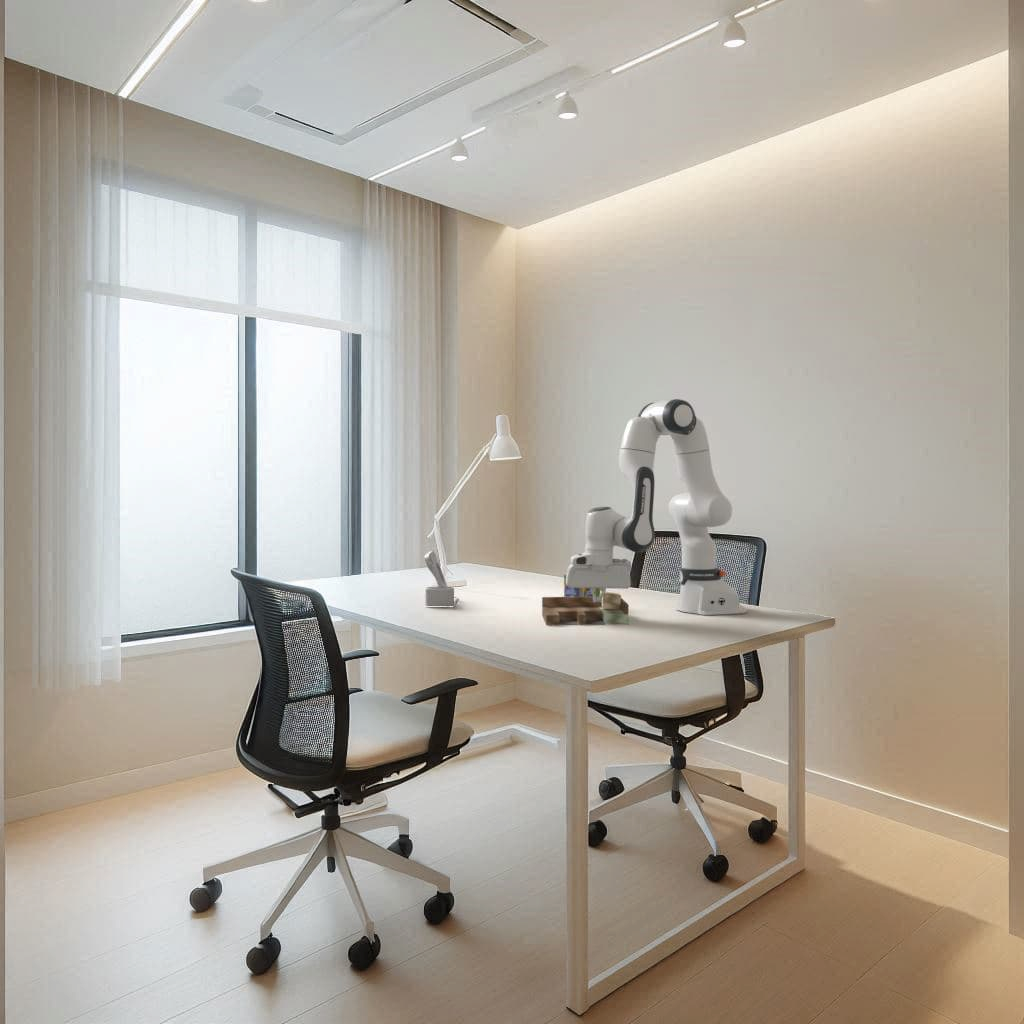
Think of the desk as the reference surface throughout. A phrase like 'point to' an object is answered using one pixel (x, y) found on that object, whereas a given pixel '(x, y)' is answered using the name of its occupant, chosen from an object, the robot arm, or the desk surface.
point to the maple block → (611, 601)
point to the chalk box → (579, 591)
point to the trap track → (581, 612)
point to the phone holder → (442, 592)
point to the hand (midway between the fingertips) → (597, 602)
